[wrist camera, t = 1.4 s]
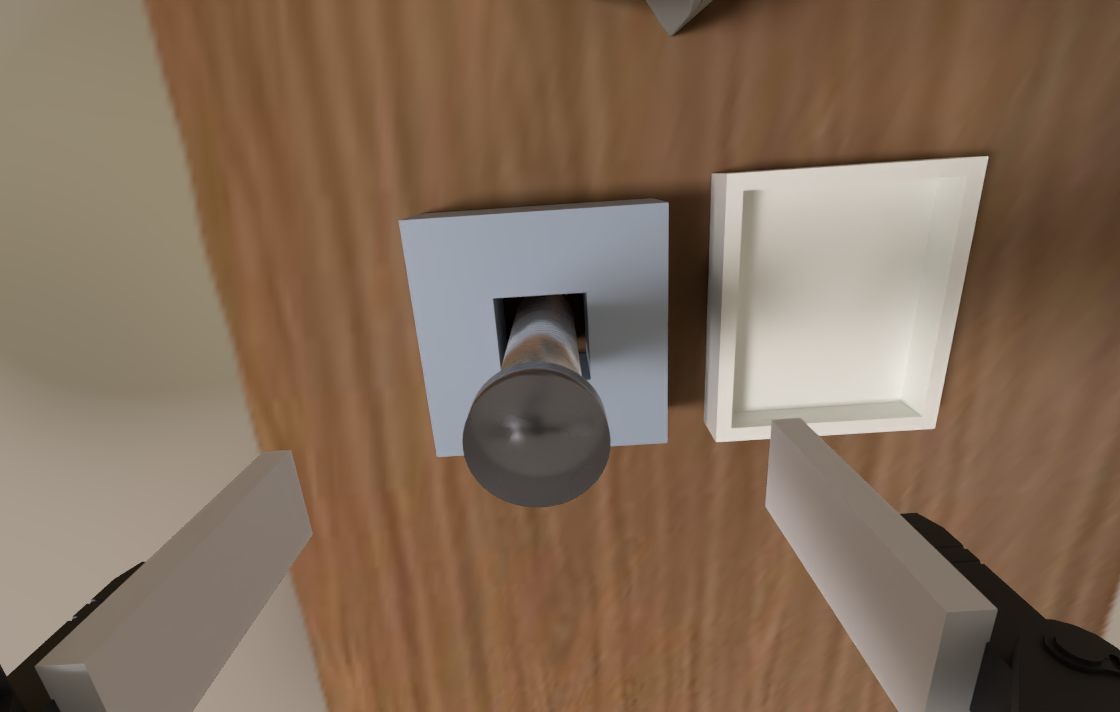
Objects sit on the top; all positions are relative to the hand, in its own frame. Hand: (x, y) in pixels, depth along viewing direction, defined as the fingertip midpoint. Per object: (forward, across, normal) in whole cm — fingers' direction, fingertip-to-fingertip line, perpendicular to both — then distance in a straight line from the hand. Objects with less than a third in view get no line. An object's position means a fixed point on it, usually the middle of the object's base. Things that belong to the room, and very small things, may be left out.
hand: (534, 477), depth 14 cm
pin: (+16, 0, 0) cm, 16 cm away
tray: (+15, +15, 0) cm, 22 cm away
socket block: (+16, 0, 0) cm, 16 cm away
